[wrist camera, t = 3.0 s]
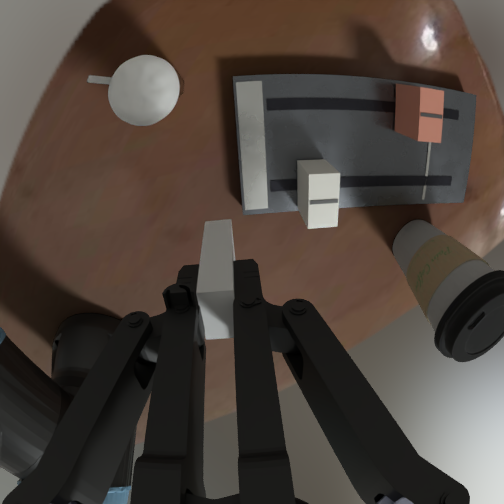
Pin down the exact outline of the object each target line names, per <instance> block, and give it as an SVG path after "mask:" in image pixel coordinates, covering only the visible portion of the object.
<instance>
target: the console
mask: <svg viewBox="0 0 504 504" xmlns="http://www.w3.org/2000/svg"><path fill="white" fill-rule="evenodd" d="M232 80H233V94H234V107H235V121H236V134H237V148H238V161H239V174H240V187H241V200H242V210H243V215H250V214H262V213H274V212H287V211H299V210H298V193H297V160H319V159H325V160H326V161H327V162H328V163H330V164H331V165H332V166H333V167H334V168H335V169H336V170H337V171H338V172H340V190H339V208H345V207H363V206H382V205H403V204H429V203H463V202H464V196H465V191H466V185H467V180H468V173H469V167H470V160H471V152H472V144H473V134H474V123H475V109H476V95H473V94H469V93H465V92H461V91H456V90H451V89H446V88H441V87H436V86H430V85H424V84H418V83H412V82H405V81H397V80H389V79H380V78H370V77H359V76H344V75H322V74H269V75H247V76H233V77H232ZM396 84H403V85H411V86H417V87H424V88H430V89H436V90H441V91H444V106H443V123H442V136H441V143H435V142H422V141H416V140H414V139H412V138H409V137H407V136H405V135H402V134H400V133H398V132H395V108H396Z"/></svg>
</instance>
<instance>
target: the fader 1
mask: <svg viewBox="0 0 504 504" xmlns="http://www.w3.org/2000/svg"><path fill="white" fill-rule="evenodd" d="M339 190H340V172H338V171H337V170H336V169H335V168H334V167H333V166H332V165H331V164H330V163H328V162H327V161H326V160H325V159H319V160H297V193H298V210H299V212H300V214H301V216H302V218H303V220H304V222H305V224H306V226H307V228H308V229H313V228H325V227H337V224H338V209H339Z"/></svg>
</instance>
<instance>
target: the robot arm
mask: <svg viewBox="0 0 504 504" xmlns="http://www.w3.org/2000/svg"><path fill="white" fill-rule="evenodd" d="M162 294H163V298H164V301H165V305H166V308H167V309H166V312H164V313H162V314H160V315H157V316H153V317H149V315H148V314H147V313H145V312H142V311H136V312H132V313H130V314H128V315H126V316H125V317H124V318H123V319H122V321H120V320H118V319H115V318H113V317H109V316H106V315H101V314H94V313H83V314H77V315H74V316H71V317H69V318H67V319H66V320H65V321H63V323H62V324H61V325H60V327H59V329H58V331H57V333H56V335H55V337H54V341H53V347H52V372H51V378H50V377H49V376H48V375H46V374H45V373H44V372H43V371H42V370H41V369H40V368H39V367H38V366H37V365H36V364H34V363H33V362H32V361H31V360H30V359H29V358H28V357H27V356H26V355H25V354H24V353H23V352H22V351H21V350H20V349H19V348H18V347H17V346H16V345H15V344H14V343H13V342H12V341H11V340H10V339H9V338H8V337H7V336H6V333H5V332H4V330H3V329H2V328H1V327H0V467H1V468H3V469H5V470H6V471H8V472H10V473H12V474H13V475H15V476H17V477H18V478H20V479H19V481H18V482H17V484H18V486H17V487H16V488H15V489H14V490H13V491H12V492H11V493H9V495H7V497H6V498H5V499H4V501H3V503H2V504H127V500H128V494H129V490H131V476H132V465H133V455H134V446H135V437H136V428H137V422H138V420H139V418H140V416H141V413H142V411H143V409H144V407H145V404H146V402H147V400H148V398H149V395H150V393H151V399H150V406H149V413H148V420H147V427H146V434H145V442H144V450H143V454H142V456H140V457H138V458H137V460H136V462H135V466H134V474H133V482H132V492H131V503H130V504H308V503H307V502H305V501H302V500H300V499H298V498H295V496H294V490H293V482H292V475H291V468H290V462H289V457H288V454H287V451H286V446H285V438H284V431H283V424H282V418H281V411H280V404H279V397H278V390H277V383H276V376H275V370H274V363H273V356H272V351H275V352H281V353H282V354H283V357H284V359H285V361H286V363H287V365H288V366H289V368H290V370H291V372H292V374H293V376H294V378H295V380H296V382H297V383H298V385H299V387H300V389H301V390H302V393H303V395H304V397H305V398H306V400H307V402H308V404H309V406H310V408H311V410H312V412H313V413H314V415H315V417H316V419H317V421H318V423H319V424H320V426H321V428H322V430H323V432H324V434H325V436H326V437H327V439H328V441H329V443H330V445H331V447H332V448H333V450H334V452H335V454H336V456H337V457H338V459H339V461H340V463H341V465H342V467H343V468H344V470H345V472H346V474H347V476H348V477H349V479H350V481H351V483H352V485H353V486H354V488H355V490H356V491H357V493H358V494H359V496H360V497H361V499H362V500H363V501H364V502H365V503H366V504H469V502H470V496H469V493H468V490H467V489H466V488H465V487H464V486H463V485H462V484H460V483H459V482H457V481H456V480H454V479H453V478H451V477H450V476H448V475H447V474H445V473H444V472H442V471H441V470H439V469H438V468H436V467H435V466H434V465H432V464H430V463H429V462H428V461H426V460H425V459H423V458H422V457H420V456H419V455H418V453H417V452H416V450H415V449H414V447H413V446H412V444H411V443H410V441H409V440H408V439H407V437H406V436H405V434H404V433H403V431H402V430H401V428H400V427H399V426H398V424H397V423H396V421H395V420H394V418H393V417H392V415H391V414H390V413H389V411H388V410H387V408H386V407H385V405H384V404H383V403H382V401H381V400H380V398H379V397H378V395H377V394H376V393H375V391H374V390H373V388H372V387H371V385H370V384H369V383H368V381H367V380H366V378H365V377H364V375H363V374H362V373H361V371H360V370H359V369H358V367H357V366H356V364H355V363H354V362H353V360H352V359H351V357H350V356H349V354H348V353H347V352H346V350H345V349H344V347H343V346H342V345H341V343H340V342H339V340H338V339H337V338H336V336H335V335H334V333H333V332H332V331H331V329H330V328H329V326H328V325H327V324H326V322H325V321H324V319H323V318H322V317H321V315H320V314H319V313H318V311H317V310H316V308H315V307H314V306H313V304H311V303H310V302H309V301H307V300H304V299H292V300H289V301H287V302H286V303H285V304H284V305H283V306H277V305H273V304H270V303H268V302H267V301H266V300H265V299H264V298H263V295H262V289H261V282H260V275H259V269H258V264H257V263H256V262H255V261H254V260H253V259H248V260H236V261H235V253H234V243H233V233H232V222H231V219H228V220H217V221H206V222H205V227H204V234H203V242H202V249H201V257H200V264H196V265H184V266H183V267H182V268H181V270H180V271H179V273H178V278H177V282H176V284H173V285H171V286H169V287H167V288H166V289H165V290H164V292H163V293H162ZM204 337H206V339H222V338H234V354H235V380H236V404H237V425H238V446H239V458H238V475H239V490H240V491H239V494H235V495H232V496H228V497H224V498H220V499H208V498H206V493H205V488H204V482H203V440H204V439H203V438H204V392H205V362H206V346H205V342H204ZM151 391H152V392H151Z"/></svg>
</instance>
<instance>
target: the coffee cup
mask: <svg viewBox="0 0 504 504" xmlns="http://www.w3.org/2000/svg"><path fill="white" fill-rule="evenodd" d="M392 250H393V254H394V256H395V258H396V260H397V262H398V264H399V265H400V267H401V269H402V271H403V272H404V274H405V276H406V278H407V282H408V284H409V286H410V288H411V290H412V292H413V293H414V295H415V297H416V299H417V301H418V303H419V305H420V307H421V309H422V310H423V313H424V315H425V316H426V318H427V320H428V322H429V323H430V324H431V325H432V327H433V329H434V331H435V338H434V339H435V340H434V341H435V346H436V348H437V349H438V350H439V351H440V352H441V353H442V354H443V355H444V356H446V357H449V358H453V359H454V360H456V361H458V362H467V361H470V360H473V359H476V358H477V357H479V356H481V355H483V354H484V353H486V352H487V351H488V350H490V349H491V348H492V347H493V346H495V345H496V344H497V343H498V342H499V341H500V340H501V338H503V336H504V271H501V270H499V271H495V270H493V269H492V268H491V267H490V266H489V265H488V263H487V262H486V261H484V260H483V259H482V258H480V257H479V256H478V255H476V254H475V253H474V252H472V251H471V250H470V249H468V248H467V247H465V246H464V245H463V244H461V243H460V242H458V241H457V240H456V239H454V238H453V237H451V236H448V235H446V234H445V233H443V232H442V231H440V230H439V229H437V228H436V227H434V226H433V225H431V224H430V223H428V222H426V221H424V220H413V221H411V222H409V223H407V224H406V225H405V226H404V227H403V228H402V229H401V230H400V231H399V233H398V234H397V236H396V238H395V240H394V243H393V248H392Z"/></svg>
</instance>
